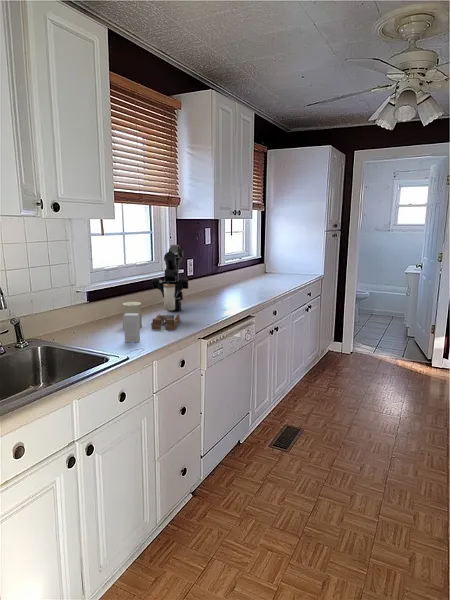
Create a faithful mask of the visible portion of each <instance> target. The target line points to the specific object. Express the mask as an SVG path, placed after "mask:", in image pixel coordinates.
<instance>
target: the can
mask: <svg viewBox="0 0 450 600" xmlns="http://www.w3.org/2000/svg"><path fill="white" fill-rule="evenodd" d="M126 313H139V327H140V328H142V327H143V322H142V320H143V319H142V318H143V315H142V303H141V302H139V301H128V302H127V301H126V302H123V303H122V322H123V323H122V324H123V325H122V327H123V328H124V315H125V314H126Z"/></svg>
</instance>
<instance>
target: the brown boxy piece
mask: <svg viewBox="0 0 450 600" xmlns="http://www.w3.org/2000/svg"><path fill="white" fill-rule="evenodd" d="M158 315H162V314H161V313H157V315H156V316H155V318H152V322H151V326H150V328H151V330H152V329H157V330H158V329H159V330H162V324H161V319H159V318H158ZM180 321H181V314H180V313H179V314H178V313H177V314H176V317H174V319H166V324H165V330H166V331H167V330H169V331H175V330H176V329H177V327H178V324H179V322H180Z"/></svg>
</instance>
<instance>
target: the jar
mask: <svg viewBox="0 0 450 600" xmlns="http://www.w3.org/2000/svg"><path fill="white" fill-rule="evenodd" d="M163 287H164V298H163V307H164V311H167V310H175V284H173V283H166V284H163Z"/></svg>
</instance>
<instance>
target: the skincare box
mask: <svg viewBox="0 0 450 600" xmlns="http://www.w3.org/2000/svg"><path fill="white" fill-rule="evenodd" d="M140 329H141V327H139V313H126V314H125V315H124V327H123V330H124V342H125V343H139V342H140V340H141V333H140V332H141V331H140Z"/></svg>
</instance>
